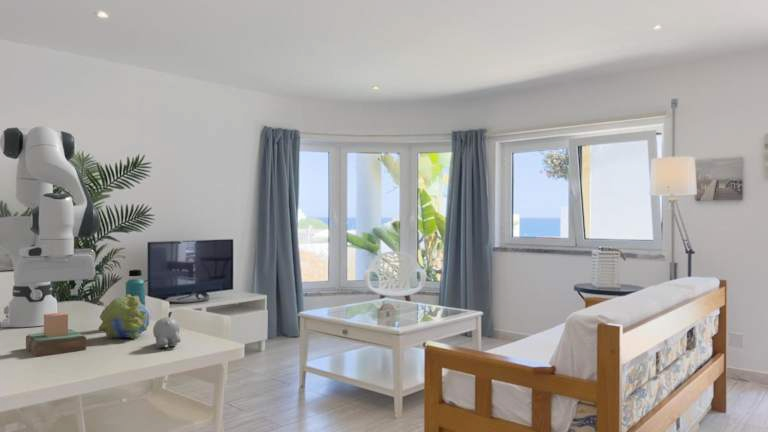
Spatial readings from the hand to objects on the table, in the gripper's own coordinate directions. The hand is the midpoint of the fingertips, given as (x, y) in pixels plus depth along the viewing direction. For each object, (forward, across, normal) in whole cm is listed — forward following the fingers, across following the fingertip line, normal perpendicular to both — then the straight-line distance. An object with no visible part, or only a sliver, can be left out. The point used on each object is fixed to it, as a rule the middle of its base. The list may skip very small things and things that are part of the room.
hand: (55, 296), depth 157 cm
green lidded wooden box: (+15, 0, +1) cm, 15 cm away
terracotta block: (+11, 0, 0) cm, 11 cm away
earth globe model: (+15, -20, -2) cm, 25 cm away
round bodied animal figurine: (+15, -24, +19) cm, 34 cm away
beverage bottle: (+16, -29, -19) cm, 38 cm away
